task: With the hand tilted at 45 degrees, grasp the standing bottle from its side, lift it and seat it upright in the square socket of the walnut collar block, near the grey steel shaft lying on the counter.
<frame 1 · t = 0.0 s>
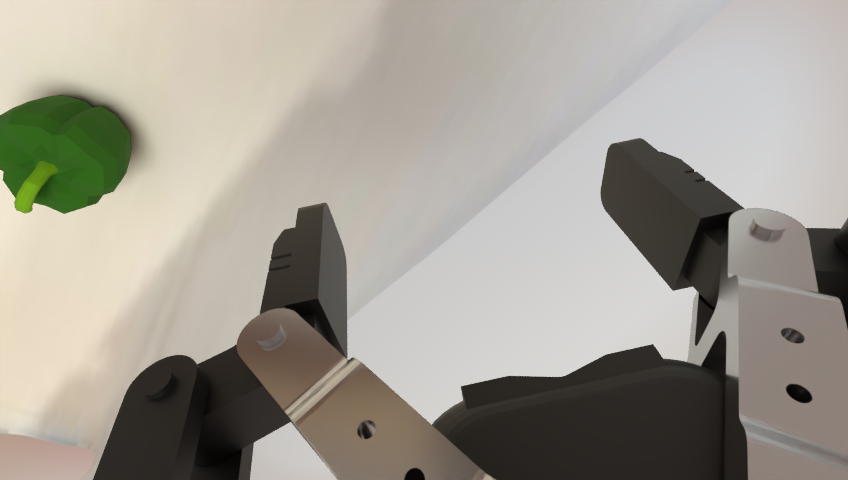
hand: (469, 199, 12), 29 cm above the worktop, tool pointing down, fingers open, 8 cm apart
bell pepper: (92, 126, 37), on the worktop
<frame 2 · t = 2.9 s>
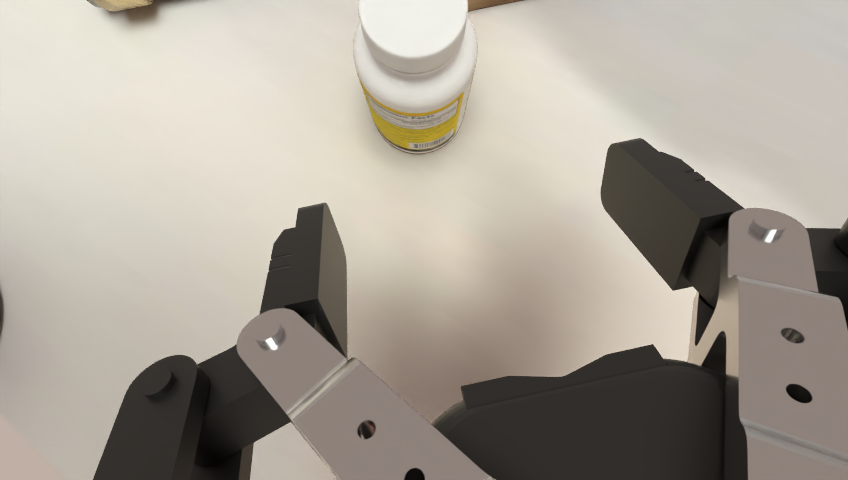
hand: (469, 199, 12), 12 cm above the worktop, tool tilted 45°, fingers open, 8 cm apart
supplement bottle: (417, 112, 25), on the worktop
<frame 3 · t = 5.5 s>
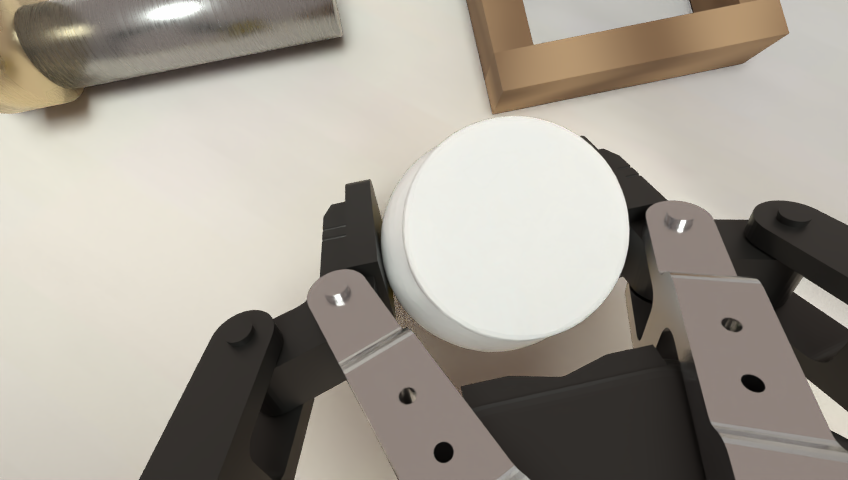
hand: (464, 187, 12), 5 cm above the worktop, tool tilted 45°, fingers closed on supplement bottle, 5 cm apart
supplement bottle: (462, 254, 17), on the worktop, touching gripper
shaft: (178, 49, 17), on the worktop
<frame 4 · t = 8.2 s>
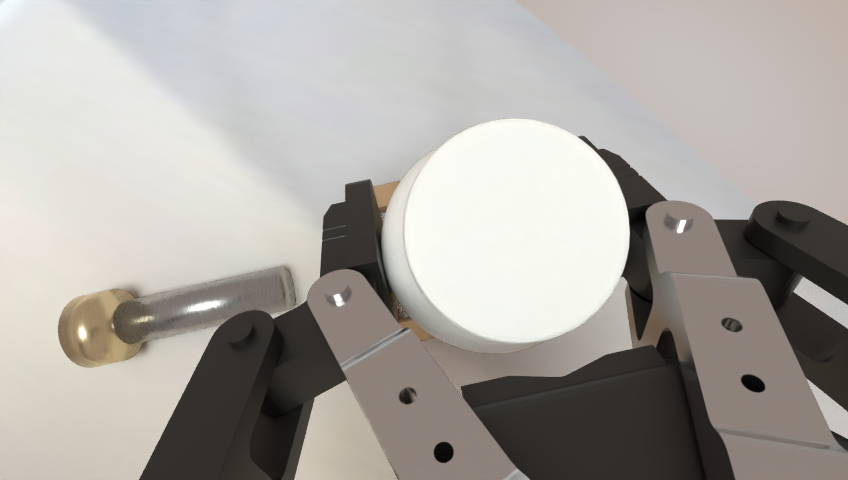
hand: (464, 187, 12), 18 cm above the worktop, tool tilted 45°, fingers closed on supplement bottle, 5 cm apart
supplement bottle: (462, 255, 17), point 13 cm above the worktop, touching gripper
shaft: (199, 307, 30), on the worktop
collar block: (440, 254, 30), on the worktop
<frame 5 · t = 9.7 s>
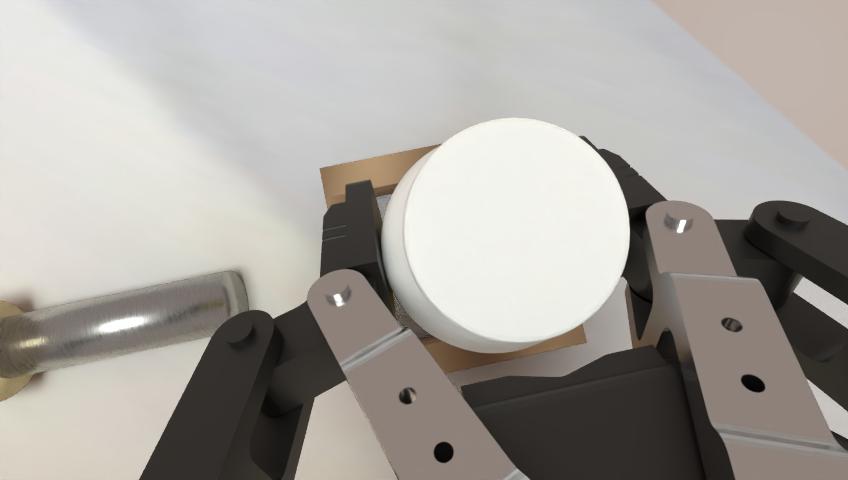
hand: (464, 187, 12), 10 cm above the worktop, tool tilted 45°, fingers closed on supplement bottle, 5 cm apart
supplement bottle: (462, 254, 17), point 5 cm above the worktop, touching gripper
shaft: (116, 325, 22), on the worktop
collar block: (448, 256, 22), on the worktop
when the fingers open (6 cm above the worktop, at t = 10.9 s): supplement bottle drops 2 cm, resting in collar block.
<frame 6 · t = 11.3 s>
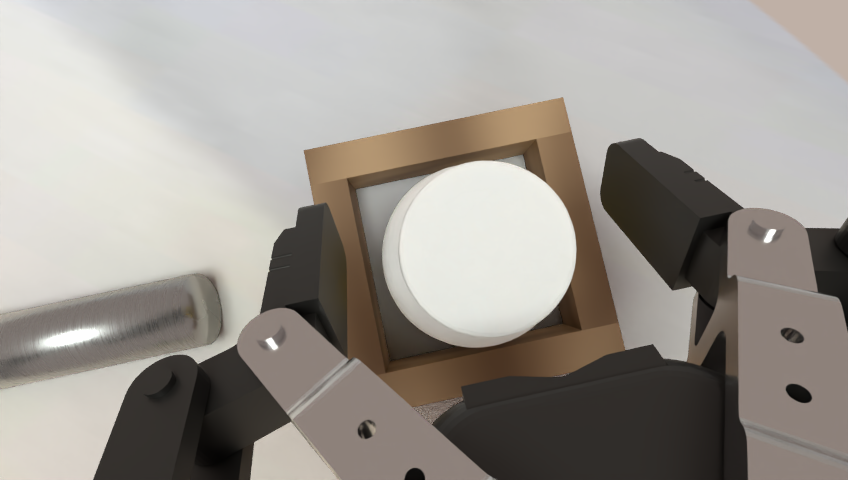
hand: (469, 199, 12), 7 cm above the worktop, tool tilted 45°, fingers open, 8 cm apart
supplement bottle: (455, 261, 19), resting in collar block
shaft: (66, 338, 18), on the worktop
collar block: (457, 255, 19), on the worktop
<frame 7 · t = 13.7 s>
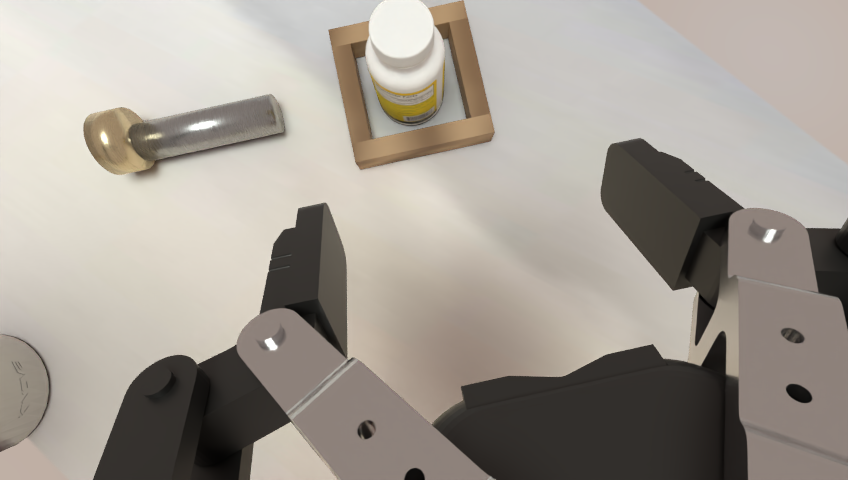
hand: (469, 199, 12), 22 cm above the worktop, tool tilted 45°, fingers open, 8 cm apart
supplement bottle: (410, 96, 34), resting in collar block
shaft: (202, 138, 34), on the worktop
collar block: (411, 92, 34), on the worktop
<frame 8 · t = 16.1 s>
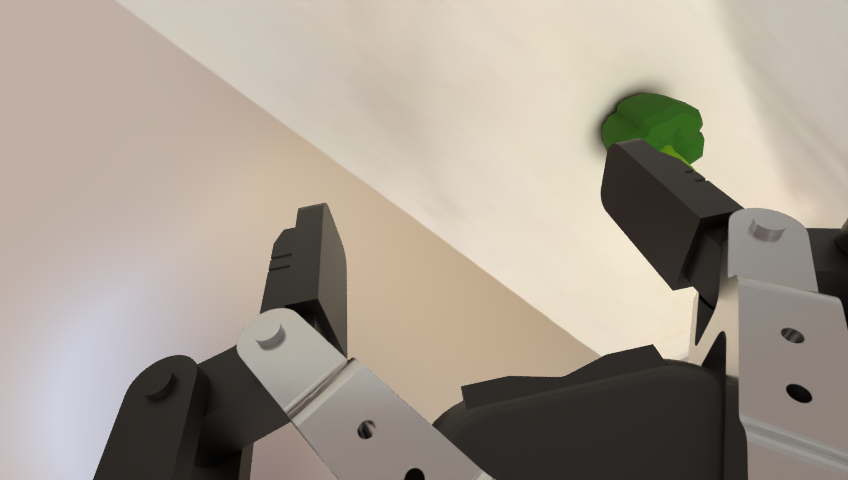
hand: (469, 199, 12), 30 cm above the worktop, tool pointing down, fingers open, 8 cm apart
bell pepper: (625, 119, 46), on the worktop
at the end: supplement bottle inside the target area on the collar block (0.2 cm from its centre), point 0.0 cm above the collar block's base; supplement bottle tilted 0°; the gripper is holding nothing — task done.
